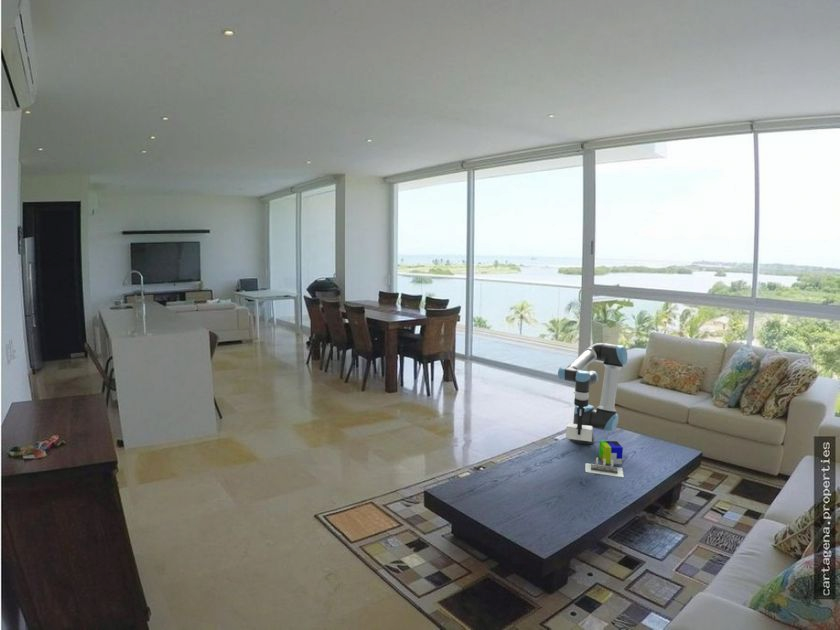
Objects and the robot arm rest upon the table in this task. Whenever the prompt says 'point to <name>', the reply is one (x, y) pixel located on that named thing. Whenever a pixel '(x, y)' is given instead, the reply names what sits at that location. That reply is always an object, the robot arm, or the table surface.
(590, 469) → the plate
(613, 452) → the puzzle toy
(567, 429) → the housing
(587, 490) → the table surface
